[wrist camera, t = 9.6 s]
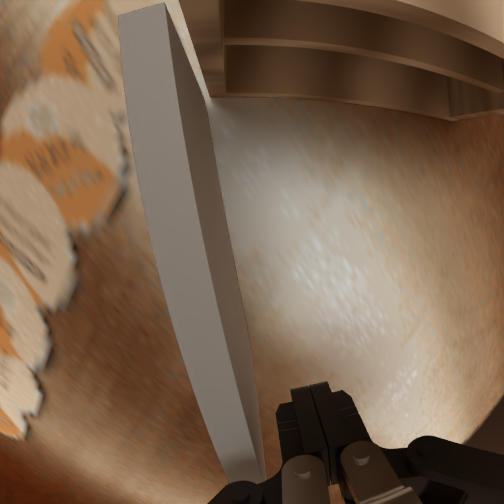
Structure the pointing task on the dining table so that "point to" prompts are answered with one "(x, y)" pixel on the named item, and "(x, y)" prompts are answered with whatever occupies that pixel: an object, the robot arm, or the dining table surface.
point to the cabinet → (355, 52)
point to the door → (191, 235)
